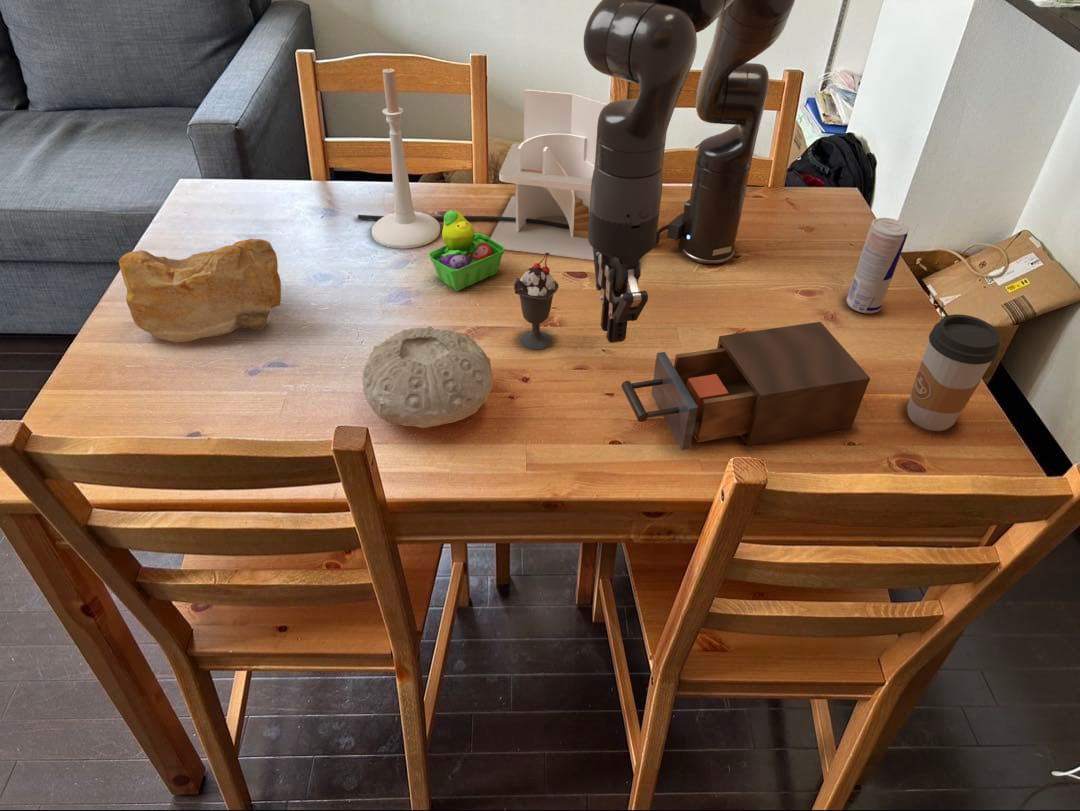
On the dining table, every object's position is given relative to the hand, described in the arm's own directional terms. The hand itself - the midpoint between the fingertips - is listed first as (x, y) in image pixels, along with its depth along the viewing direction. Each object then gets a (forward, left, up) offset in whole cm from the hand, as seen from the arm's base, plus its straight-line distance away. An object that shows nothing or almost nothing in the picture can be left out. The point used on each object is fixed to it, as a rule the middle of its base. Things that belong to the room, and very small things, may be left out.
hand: (612, 334), depth 96 cm
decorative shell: (-23, -9, -17) cm, 30 cm away
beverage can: (+18, +53, -17) cm, 58 cm away
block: (+9, +11, -15) cm, 21 cm away
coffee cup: (+35, +31, -17) cm, 50 cm away
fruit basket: (-41, +20, -17) cm, 49 cm away
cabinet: (+17, +20, -17) cm, 31 cm away
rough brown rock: (-64, -13, -17) cm, 68 cm away
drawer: (+9, +10, -16) cm, 21 cm away
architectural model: (-36, +45, -17) cm, 60 cm away
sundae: (-20, +12, -17) cm, 29 cm away
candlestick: (-60, +25, -17) cm, 67 cm away
